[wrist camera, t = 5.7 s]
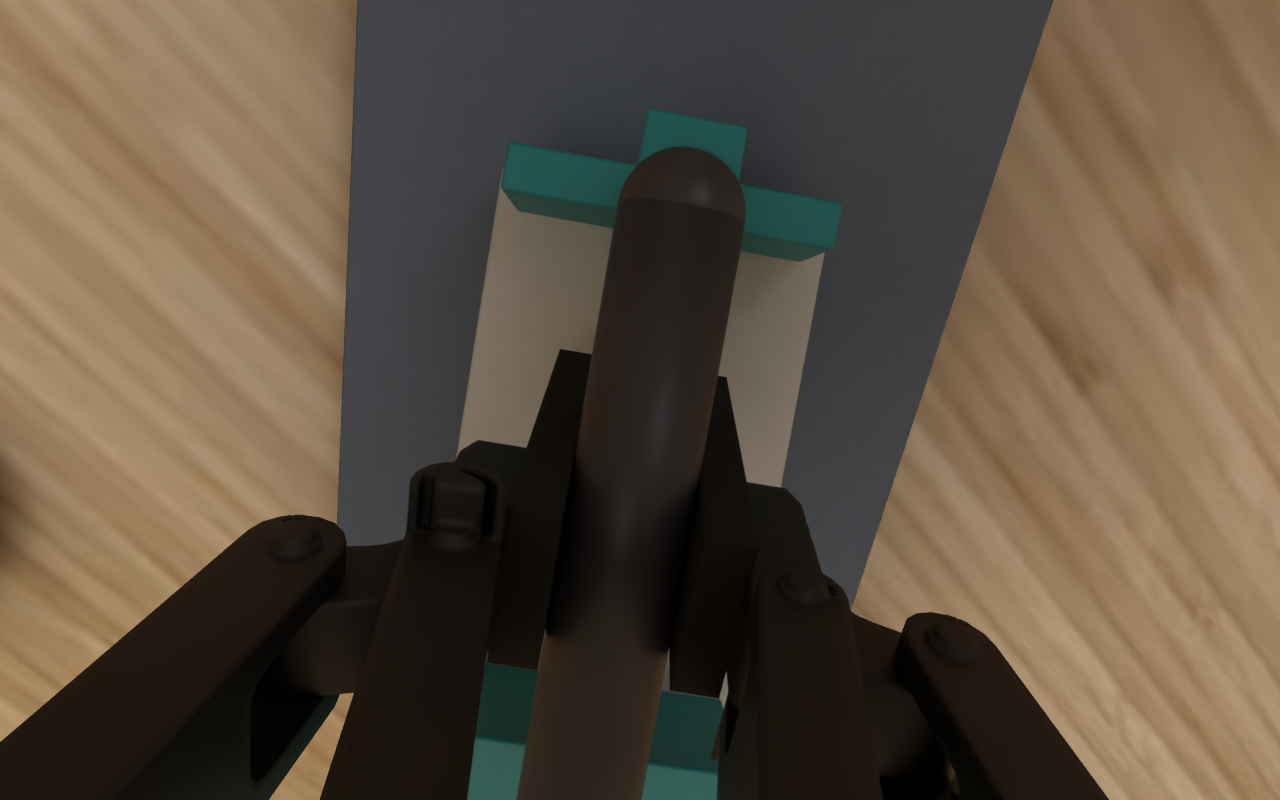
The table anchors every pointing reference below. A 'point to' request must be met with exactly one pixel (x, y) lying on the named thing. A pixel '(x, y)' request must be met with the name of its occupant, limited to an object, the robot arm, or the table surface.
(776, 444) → the iron
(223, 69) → the table surface
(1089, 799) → the robot arm
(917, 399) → the ironing mat
